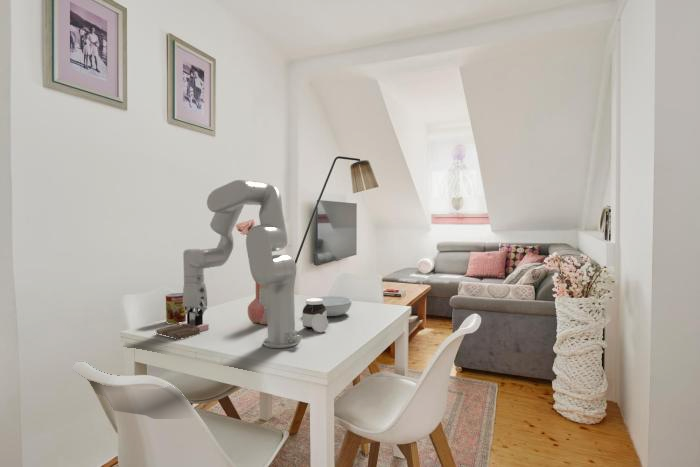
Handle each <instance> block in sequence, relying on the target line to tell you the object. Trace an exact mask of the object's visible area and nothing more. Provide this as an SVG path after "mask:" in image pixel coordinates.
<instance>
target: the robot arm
mask: <svg viewBox="0 0 700 467" xmlns="http://www.w3.org/2000/svg"><path fill="white" fill-rule="evenodd" d="M207 196H208V197H207V200H206V206H207V208H208V210H209V212H212V213H214V215H213V217H212V219H211V221H210V224H209V226H210V229H212V230H213V232H215V233H216V234H219V235H220V239H219V242H218V244H217V246H216V247H213V248H203V249H200V248H188V249H185V250H184V251H183V253H182V254H183V289H182V293H183V307H184V308H185V310H186V323H187V324H190V316H189V312H192V311H195V312H196V316H195V326H198V325H202V324H203V323H204V322H203V321H204V320H203V318H204V317H203V315H204V313H205V312H206V311H207V310H208V307H207V306H208V293H207V286H206V283H205V272H204V269H209V268H210V269H211V268H215V267H221V266H223V265H225V264H226V263H227V262H228V260H229V258H230V256H231V254H232V252H233V250H234V236H233V234H232V232H233V230H234V228H235V226H236V224H237V221H238V220H239V217H240V215H241V213H242V211H243V208H244V207H245V205H248V206H249V205H250V206H251V205H252V206H253V205H254V206H260V208H259V211H258V218H259V224H257V225H254V226H252V227H251V228H250V229H249V230H248V232H247V234H246V238H245V245H246V246H245V247H246V252H247V253H246V254H247V257H248V258H247V259H248V265H249V271H250V274H251V277H252V278H253V280H254V282H255V283H256V284H258V285H259V284H260V285H269V287H268V292H267V317H268V325H267V338H264V339H263V344H262V345H264V346H265V347H267V348H270V349H286V348H291V347H294V346H297V345H298V344H299V343H301V340H303V335H301V334H298V330H296V328H295V327H296V325H295V324H296V323H295V283H296V278H297V263H296V262H295V260H294V258H293V257H291V256H289V255H287V254H276V255H275V254H273V252H279V251H282V250H284V249H286V247H287V245H288V235H287V229H286V224H285V216H284V212H283V202H282V200H283V199H282V196H281V193H280V191H279V190H278V188H277V187H276V186H274V185H273V184H270V183H267V182H260V181H255V180H245V179H238V180H237V179H236V180H233V181H231V182H228V183H226V184H224V185H222V186H219V187H217V188H216V189H214V190H212V191H211V192H210V193H209V195H207Z"/></svg>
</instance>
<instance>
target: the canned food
mask: <svg viewBox="0 0 700 467" xmlns="http://www.w3.org/2000/svg"><path fill="white" fill-rule="evenodd" d="M165 311H166V312H165V316H166V318H165V319H166V323H167V322H168V323H177V324H180V323H179V322H182V323H185V322H187V314H186V310H185V308H184V307H183V292H176V293H175V292H174V293H173V292H172V293H167V294H165ZM184 321H185V322H184ZM168 323H167V324H168Z"/></svg>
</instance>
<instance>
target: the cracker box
mask: <svg viewBox="0 0 700 467" xmlns="http://www.w3.org/2000/svg"><path fill="white" fill-rule="evenodd" d="M258 286H259V287H258V288H259V289H258V290H259V292H258V296H259V299H258V301H259V302H258V304H259V303H261V304H262V305H263V306H264V314H263V318H262V320H261V321H260V322H259V325H265V326H268V317H267V292H268V287H269V285H260V284H258Z"/></svg>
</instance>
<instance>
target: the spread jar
mask: <svg viewBox="0 0 700 467" xmlns="http://www.w3.org/2000/svg"><path fill="white" fill-rule="evenodd" d="M301 315H302V316H301V317H302V319H301V320H302V326H303V328H305V329H306V330H308V331H314V332H316V333H323V332H326V330H328V327H329V320H328V317H327V311H326V307H325V306H324V305H323V299H320V298H315V297H312V298H307V299H306V300H305V305H304V307H303V309H302V313H301Z"/></svg>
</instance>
